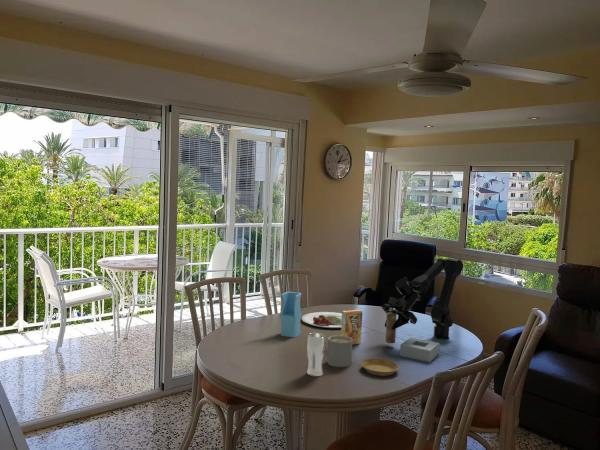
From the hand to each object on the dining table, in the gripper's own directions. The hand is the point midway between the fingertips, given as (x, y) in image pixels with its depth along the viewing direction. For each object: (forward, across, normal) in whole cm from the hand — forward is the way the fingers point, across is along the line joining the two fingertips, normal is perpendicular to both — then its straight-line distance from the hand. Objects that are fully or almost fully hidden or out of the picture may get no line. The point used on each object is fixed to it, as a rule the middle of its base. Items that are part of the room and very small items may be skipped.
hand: (388, 327), depth 220 cm
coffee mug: (+28, +6, -16) cm, 33 cm away
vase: (+28, -35, -16) cm, 48 cm away
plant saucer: (+23, +21, -10) cm, 33 cm away
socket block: (+2, +15, +10) cm, 18 cm away
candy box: (+15, -11, -3) cm, 19 cm away
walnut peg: (+4, 0, +6) cm, 7 cm away
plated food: (+7, -46, +6) cm, 47 cm away
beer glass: (+40, +12, -28) cm, 50 cm away
